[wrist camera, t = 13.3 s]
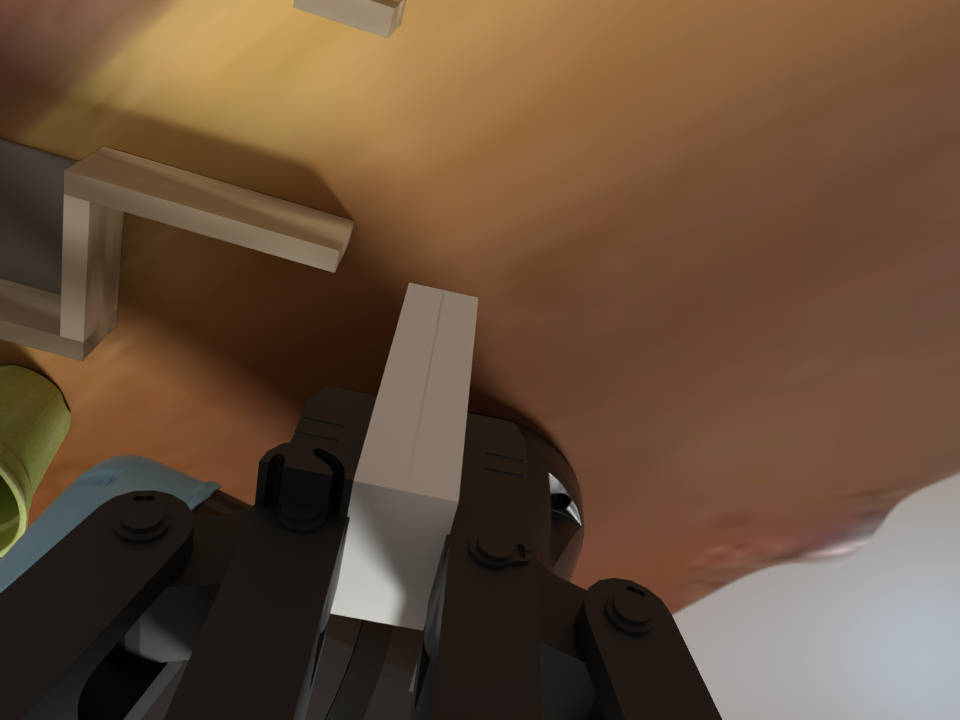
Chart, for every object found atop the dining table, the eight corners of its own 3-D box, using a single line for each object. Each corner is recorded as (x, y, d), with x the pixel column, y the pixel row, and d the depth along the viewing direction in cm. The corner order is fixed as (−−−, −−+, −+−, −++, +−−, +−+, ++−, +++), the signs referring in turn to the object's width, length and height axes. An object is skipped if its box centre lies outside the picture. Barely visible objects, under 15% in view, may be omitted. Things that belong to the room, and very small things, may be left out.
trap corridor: (317, 380, 46) (301, 419, 43) (-263, 222, 43) (-331, 250, 39) (463, -248, 31) (456, -265, 27) (-425, -580, 27) (-561, -648, 24)
